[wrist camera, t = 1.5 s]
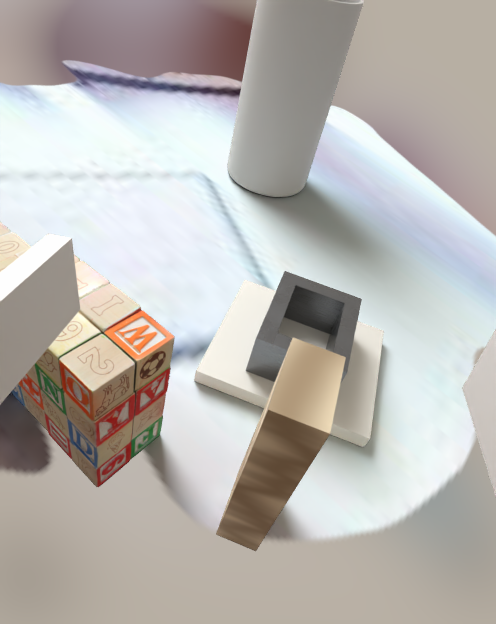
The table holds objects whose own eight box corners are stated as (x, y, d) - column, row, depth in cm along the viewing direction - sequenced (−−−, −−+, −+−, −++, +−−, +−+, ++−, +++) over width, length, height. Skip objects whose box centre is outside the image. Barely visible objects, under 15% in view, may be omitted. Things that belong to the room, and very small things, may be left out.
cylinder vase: (264, 207, 64) (317, 1, 47) (210, 165, 70) (240, -32, 52) (319, 189, 71) (383, 5, 54) (266, 153, 77) (309, -25, 60)
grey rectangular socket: (245, 370, 41) (255, 337, 37) (274, 303, 48) (284, 271, 45) (329, 403, 40) (347, 372, 37) (345, 329, 47) (361, 299, 44)
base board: (194, 380, 40) (196, 370, 39) (242, 289, 51) (244, 279, 50) (363, 447, 39) (370, 438, 38) (378, 339, 49) (383, 330, 48)
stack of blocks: (-58, 323, 40) (-105, 202, 31) (11, 293, 44) (-15, 178, 35) (98, 490, 32) (92, 391, 24) (163, 435, 36) (177, 334, 28)
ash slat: (216, 534, 32) (268, 409, 21) (238, 471, 35) (292, 337, 24) (255, 551, 31) (329, 433, 20) (274, 486, 35) (345, 357, 24)
